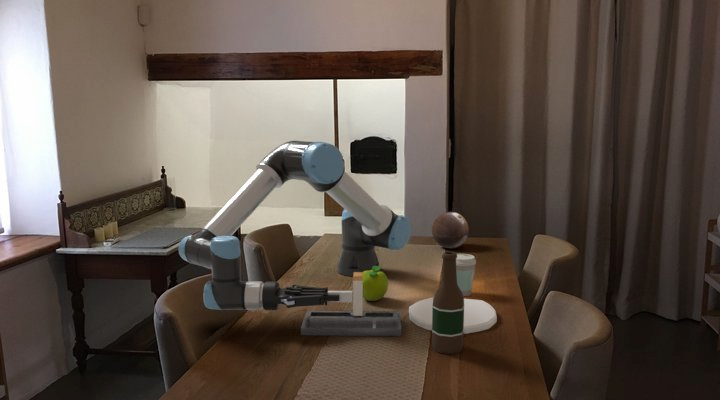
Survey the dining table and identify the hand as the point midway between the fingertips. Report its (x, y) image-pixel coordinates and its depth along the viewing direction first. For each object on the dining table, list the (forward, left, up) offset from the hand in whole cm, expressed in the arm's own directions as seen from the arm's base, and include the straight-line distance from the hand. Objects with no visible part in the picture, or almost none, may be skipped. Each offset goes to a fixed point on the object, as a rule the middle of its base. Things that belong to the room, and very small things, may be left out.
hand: (352, 296), depth 168 cm
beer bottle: (+24, +12, -9) cm, 29 cm away
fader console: (-1, 0, -9) cm, 9 cm away
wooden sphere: (-58, +83, -9) cm, 102 cm away
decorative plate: (+7, +28, -10) cm, 31 cm away
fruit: (-18, +18, -9) cm, 27 cm away
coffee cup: (-8, +45, -9) cm, 47 cm away
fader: (0, +2, -7) cm, 7 cm away
